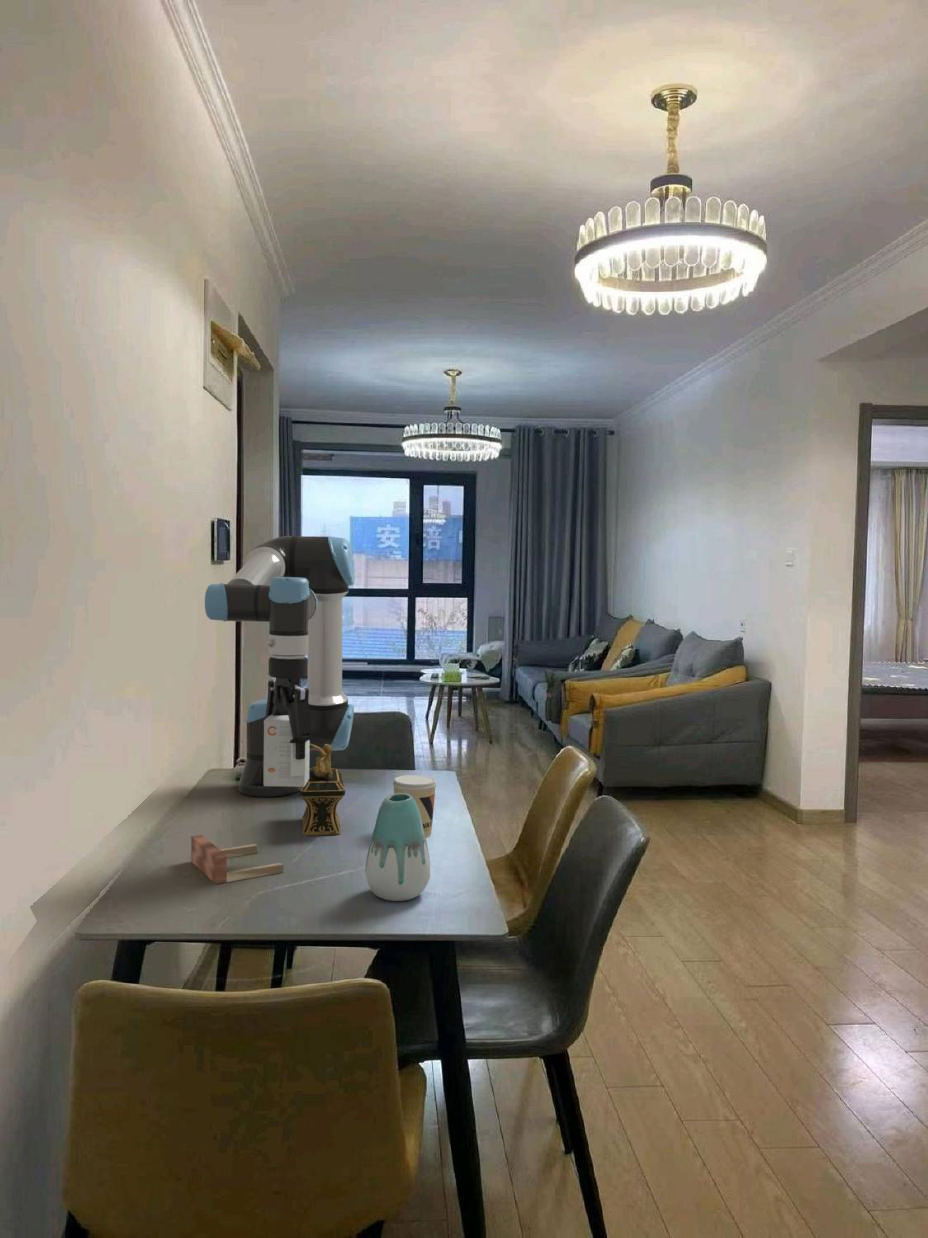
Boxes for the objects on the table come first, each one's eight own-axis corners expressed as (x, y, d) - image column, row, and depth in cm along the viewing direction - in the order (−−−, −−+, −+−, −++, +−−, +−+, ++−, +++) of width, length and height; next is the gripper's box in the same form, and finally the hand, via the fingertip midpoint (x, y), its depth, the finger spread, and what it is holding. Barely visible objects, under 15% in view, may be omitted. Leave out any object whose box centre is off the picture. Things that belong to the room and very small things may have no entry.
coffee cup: (429, 842, 197) (430, 786, 196) (386, 838, 199) (387, 782, 198) (439, 829, 206) (440, 776, 205) (398, 826, 208) (399, 773, 207)
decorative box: (298, 816, 213) (299, 731, 212) (340, 815, 215) (342, 731, 214) (298, 843, 193) (299, 750, 192) (345, 842, 195) (346, 749, 194)
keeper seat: (191, 861, 180) (191, 836, 180) (255, 851, 188) (255, 826, 187) (215, 884, 169) (216, 857, 168) (283, 872, 176) (283, 846, 175)
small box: (309, 779, 186) (310, 715, 185) (304, 787, 179) (305, 720, 179) (268, 778, 186) (269, 714, 185) (262, 786, 179) (263, 719, 178)
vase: (376, 910, 158) (378, 807, 157) (356, 887, 169) (358, 790, 167) (439, 902, 163) (442, 801, 162) (416, 880, 173) (418, 785, 172)
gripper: (248, 651, 188) (247, 761, 189) (294, 663, 170) (292, 784, 171) (282, 650, 192) (281, 757, 193) (331, 661, 174) (329, 779, 175)
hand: (286, 770), depth 182 cm, fingers closed on small box, 9 cm apart
